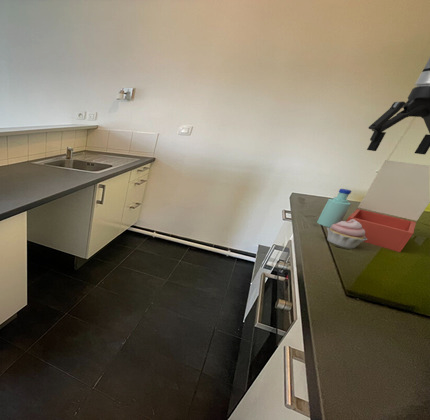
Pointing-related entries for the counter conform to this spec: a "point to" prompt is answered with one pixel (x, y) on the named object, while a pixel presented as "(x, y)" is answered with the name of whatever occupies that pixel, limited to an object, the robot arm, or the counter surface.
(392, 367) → the counter surface
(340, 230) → the cupcake
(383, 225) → the box
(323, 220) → the bottle
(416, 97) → the robot arm
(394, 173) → the lid
